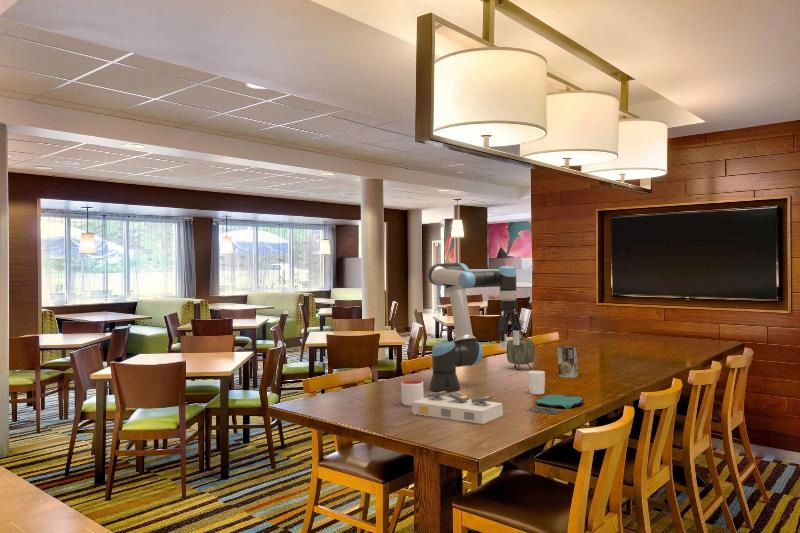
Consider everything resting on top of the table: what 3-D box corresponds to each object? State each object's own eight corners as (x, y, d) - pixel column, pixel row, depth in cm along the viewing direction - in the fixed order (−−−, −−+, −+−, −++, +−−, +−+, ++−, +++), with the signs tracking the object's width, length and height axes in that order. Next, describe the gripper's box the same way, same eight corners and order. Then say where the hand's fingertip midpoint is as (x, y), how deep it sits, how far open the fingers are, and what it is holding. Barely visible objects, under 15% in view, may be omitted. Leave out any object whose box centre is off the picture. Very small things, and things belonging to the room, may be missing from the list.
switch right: (471, 403, 247) (471, 399, 247) (477, 400, 251) (477, 397, 251) (486, 401, 243) (485, 397, 243) (492, 399, 247) (491, 395, 247)
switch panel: (412, 414, 256) (411, 400, 256) (434, 406, 269) (433, 393, 269) (482, 424, 235) (481, 409, 235) (502, 415, 248) (502, 401, 248)
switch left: (427, 397, 261) (427, 394, 261) (434, 395, 265) (433, 392, 265) (440, 395, 257) (440, 392, 257) (447, 393, 260) (446, 390, 261)
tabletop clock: (535, 369, 355) (533, 326, 355) (527, 372, 348) (525, 328, 348) (514, 367, 365) (512, 325, 365) (505, 369, 358) (504, 327, 358)
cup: (408, 407, 268) (407, 385, 268) (398, 403, 277) (397, 381, 277) (428, 404, 273) (427, 382, 273) (417, 401, 282) (416, 379, 282)
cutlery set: (590, 402, 267) (590, 396, 267) (560, 417, 244) (560, 411, 244) (549, 397, 280) (548, 392, 280) (516, 412, 257) (516, 406, 257)
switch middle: (448, 396, 254) (449, 393, 254) (454, 394, 258) (455, 391, 258) (462, 402, 250) (463, 398, 250) (468, 399, 254) (469, 396, 254)
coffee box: (578, 376, 329) (577, 346, 329) (575, 378, 324) (573, 347, 324) (561, 375, 334) (560, 345, 334) (558, 377, 329) (557, 347, 329)
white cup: (546, 394, 285) (545, 373, 285) (528, 394, 286) (528, 373, 286) (545, 391, 293) (544, 370, 293) (528, 391, 294) (527, 370, 294)
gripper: (504, 301, 264) (505, 350, 264) (527, 298, 285) (528, 343, 285) (488, 301, 269) (490, 349, 269) (512, 298, 289) (514, 342, 289)
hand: (510, 346), depth 277 cm, fingers open, 13 cm apart
